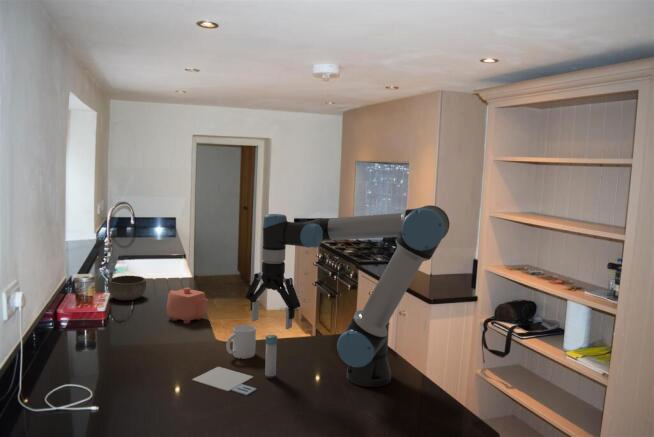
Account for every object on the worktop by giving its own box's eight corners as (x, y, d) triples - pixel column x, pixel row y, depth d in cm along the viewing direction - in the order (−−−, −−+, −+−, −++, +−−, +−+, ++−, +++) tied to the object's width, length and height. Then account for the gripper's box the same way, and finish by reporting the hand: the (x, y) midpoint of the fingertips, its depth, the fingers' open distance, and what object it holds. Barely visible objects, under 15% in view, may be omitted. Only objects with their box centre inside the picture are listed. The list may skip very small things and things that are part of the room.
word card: (256, 389, 167) (256, 388, 167) (246, 395, 163) (246, 394, 163) (241, 385, 170) (241, 383, 170) (231, 390, 166) (231, 389, 166)
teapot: (216, 320, 236) (216, 289, 234) (196, 327, 225) (196, 295, 223) (179, 311, 246) (180, 282, 245) (158, 318, 235) (159, 287, 234)
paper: (253, 377, 176) (253, 376, 176) (228, 391, 165) (228, 390, 165) (218, 367, 184) (218, 366, 184) (191, 380, 172) (191, 379, 172)
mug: (232, 363, 188) (233, 335, 187) (219, 356, 194) (220, 329, 192) (259, 355, 196) (260, 328, 195) (246, 349, 202) (247, 323, 201)
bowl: (138, 303, 257) (138, 283, 255) (102, 302, 257) (102, 282, 256) (151, 294, 274) (151, 275, 273) (116, 293, 274) (116, 274, 273)
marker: (278, 376, 178) (279, 336, 177) (271, 380, 175) (273, 339, 173) (268, 373, 180) (270, 334, 178) (262, 377, 177) (263, 337, 175)
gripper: (312, 264, 170) (309, 328, 173) (250, 255, 182) (248, 314, 185) (299, 268, 164) (297, 334, 166) (236, 258, 176) (234, 320, 178)
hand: (271, 324), depth 175 cm, fingers open, 13 cm apart
